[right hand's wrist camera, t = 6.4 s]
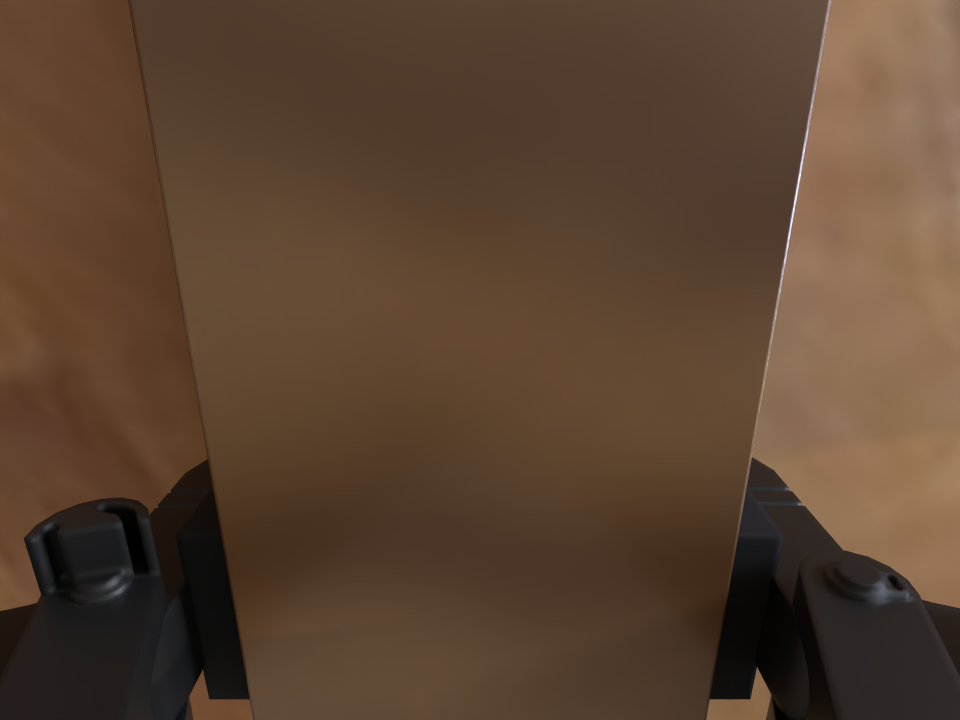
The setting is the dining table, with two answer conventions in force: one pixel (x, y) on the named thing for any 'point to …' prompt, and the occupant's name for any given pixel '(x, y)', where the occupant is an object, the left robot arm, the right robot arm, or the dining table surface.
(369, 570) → the post
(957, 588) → the dining table surface
